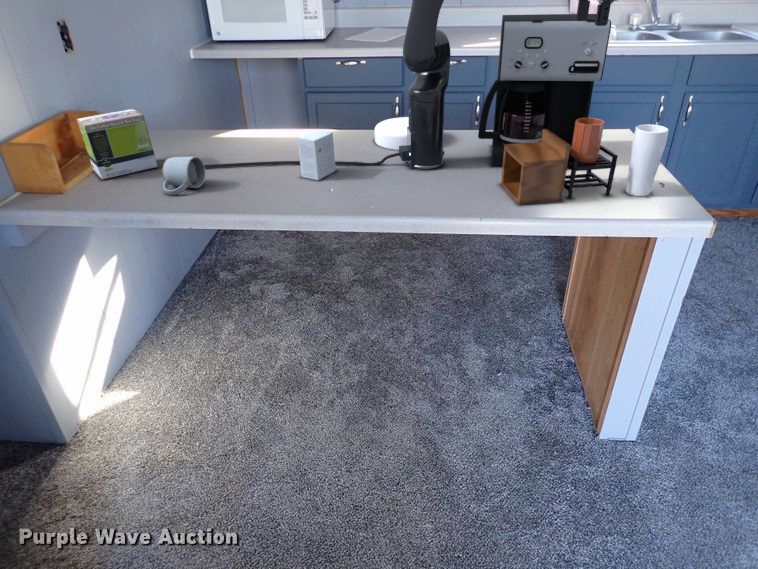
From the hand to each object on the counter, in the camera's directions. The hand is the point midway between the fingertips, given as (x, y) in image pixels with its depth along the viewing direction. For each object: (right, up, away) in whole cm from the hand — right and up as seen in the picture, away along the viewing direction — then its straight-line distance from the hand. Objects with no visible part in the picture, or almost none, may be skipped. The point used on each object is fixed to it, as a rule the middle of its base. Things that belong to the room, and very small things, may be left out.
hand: (590, 23), depth 110 cm
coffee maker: (-1, -17, +41) cm, 45 cm away
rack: (+5, -30, +20) cm, 36 cm away
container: (-34, -9, +58) cm, 67 cm away
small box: (-59, -24, +34) cm, 72 cm away
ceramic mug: (-92, -28, +28) cm, 100 cm away
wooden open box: (-7, -31, +19) cm, 37 cm away
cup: (+5, -23, +16) cm, 29 cm away
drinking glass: (+17, -32, +17) cm, 40 cm away
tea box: (-113, -21, +41) cm, 122 cm away
